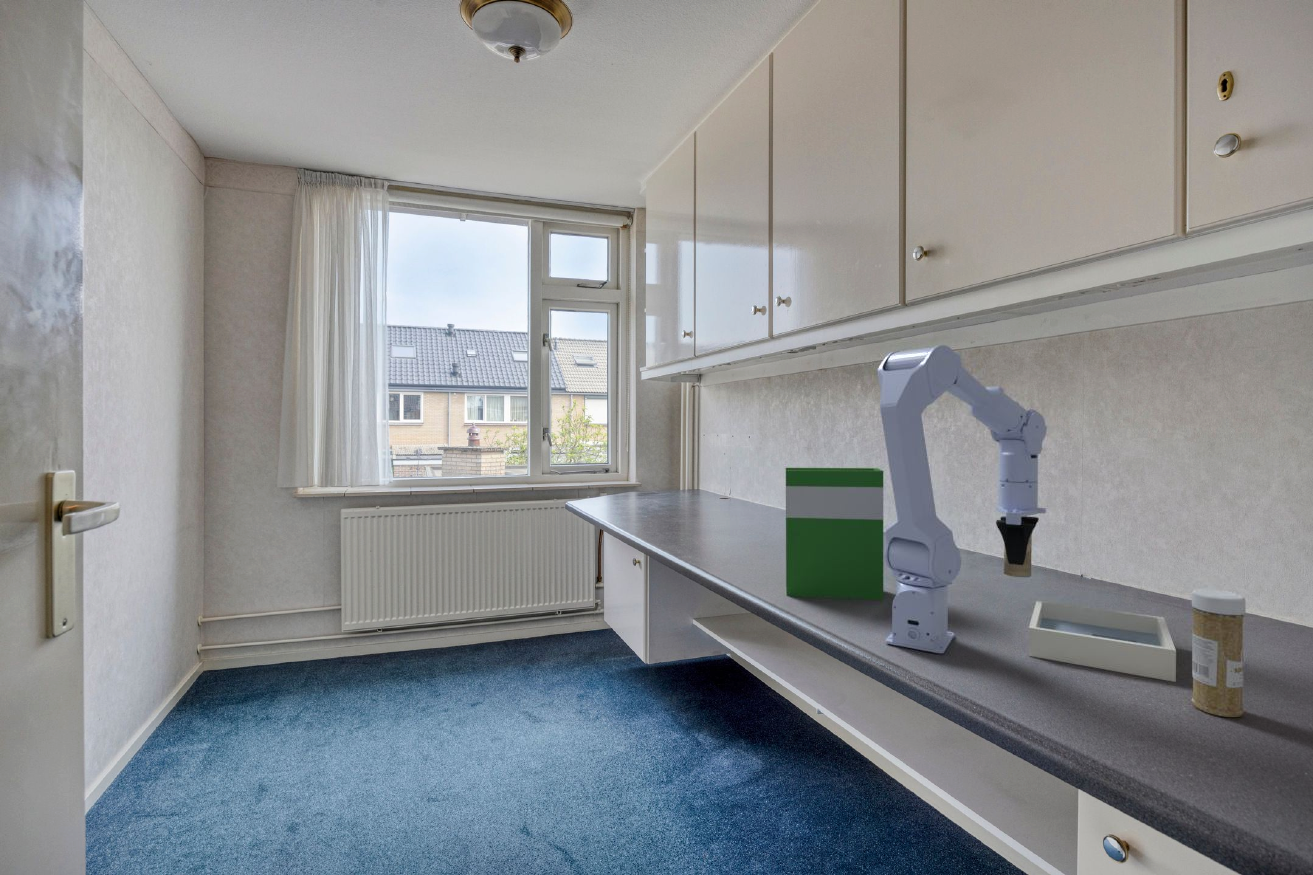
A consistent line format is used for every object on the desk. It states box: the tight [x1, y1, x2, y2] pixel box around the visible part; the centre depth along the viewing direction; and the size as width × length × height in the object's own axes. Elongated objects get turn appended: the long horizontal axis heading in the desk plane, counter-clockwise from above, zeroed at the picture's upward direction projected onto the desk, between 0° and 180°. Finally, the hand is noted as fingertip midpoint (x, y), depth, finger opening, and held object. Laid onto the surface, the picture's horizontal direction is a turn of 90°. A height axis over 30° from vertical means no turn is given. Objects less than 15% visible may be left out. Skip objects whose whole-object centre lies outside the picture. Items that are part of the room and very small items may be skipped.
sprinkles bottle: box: [1191, 588, 1247, 718], centre depth 71 cm, size 5×5×14 cm
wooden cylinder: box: [1003, 532, 1033, 578], centre depth 105 cm, size 4×4×8 cm
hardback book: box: [785, 467, 884, 601], centre depth 121 cm, size 18×7×24 cm, turn 79°
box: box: [1028, 600, 1177, 683], centre depth 90 cm, size 16×16×4 cm
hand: (1017, 561), depth 105 cm, fingers closed on wooden cylinder, 4 cm apart
